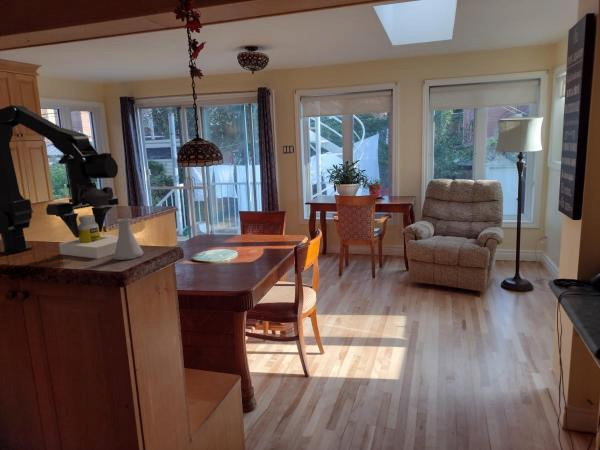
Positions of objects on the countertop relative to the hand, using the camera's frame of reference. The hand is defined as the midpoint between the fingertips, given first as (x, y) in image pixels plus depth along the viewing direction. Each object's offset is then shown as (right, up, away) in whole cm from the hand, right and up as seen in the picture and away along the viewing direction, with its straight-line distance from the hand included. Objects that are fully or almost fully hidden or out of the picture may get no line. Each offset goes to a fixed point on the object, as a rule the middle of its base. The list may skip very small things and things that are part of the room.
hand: (88, 234), depth 125 cm
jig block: (+3, -5, -1) cm, 5 cm away
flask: (+15, -6, -10) cm, 19 cm away
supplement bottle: (0, -5, +1) cm, 5 cm away
